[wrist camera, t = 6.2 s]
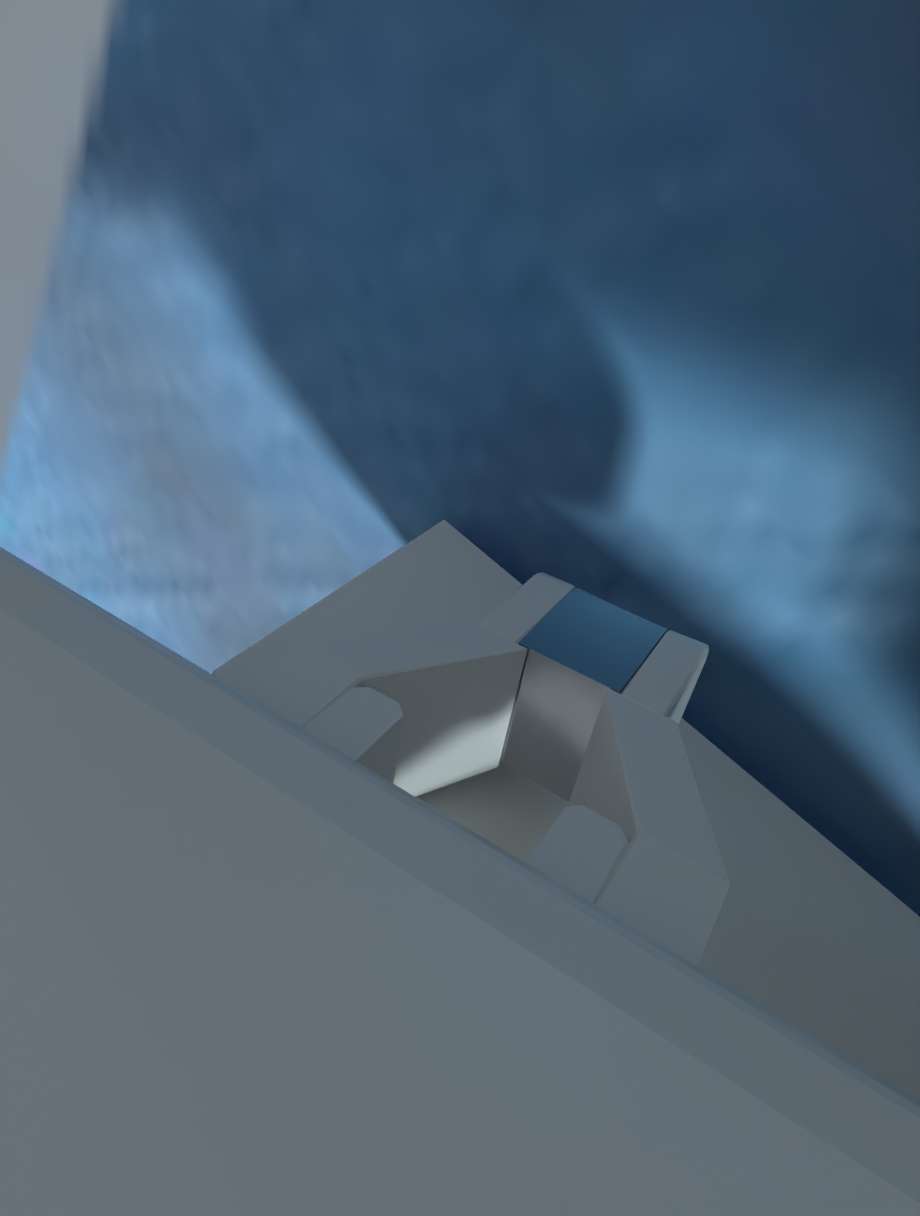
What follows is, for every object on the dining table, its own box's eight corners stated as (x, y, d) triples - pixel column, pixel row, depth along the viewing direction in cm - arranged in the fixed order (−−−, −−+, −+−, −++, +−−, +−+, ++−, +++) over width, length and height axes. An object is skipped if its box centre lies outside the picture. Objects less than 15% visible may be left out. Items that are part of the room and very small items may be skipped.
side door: (407, 583, 14) (186, 743, 10) (443, 518, 13) (213, 671, 9) (992, 1086, 12) (987, 1506, 8) (1091, 1060, 11) (1134, 1524, 7)
